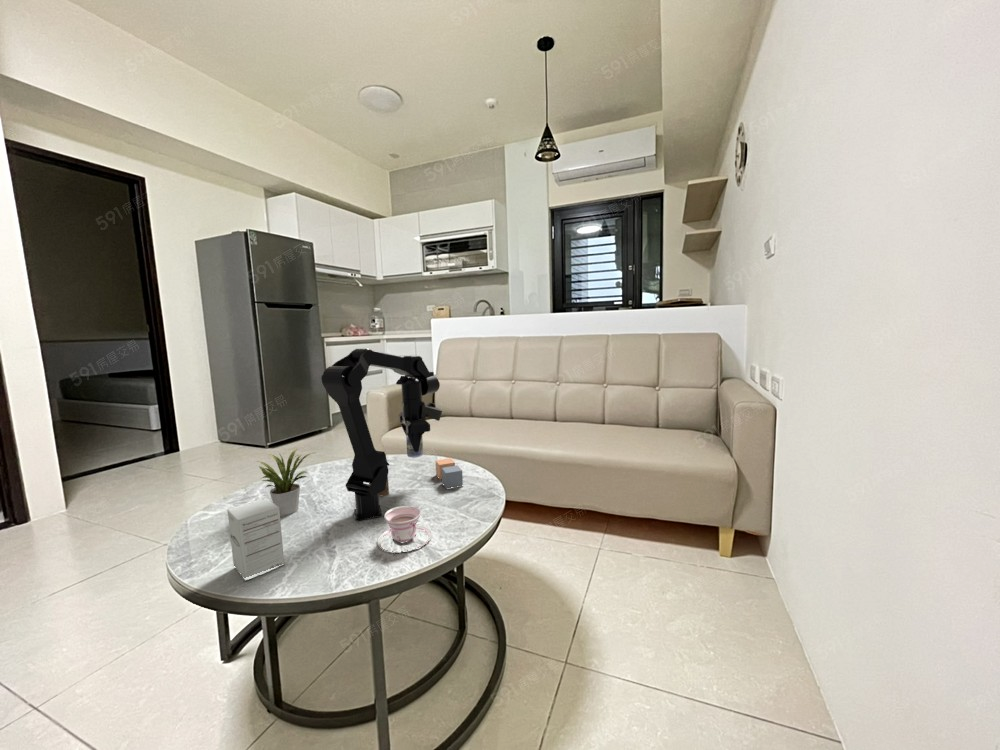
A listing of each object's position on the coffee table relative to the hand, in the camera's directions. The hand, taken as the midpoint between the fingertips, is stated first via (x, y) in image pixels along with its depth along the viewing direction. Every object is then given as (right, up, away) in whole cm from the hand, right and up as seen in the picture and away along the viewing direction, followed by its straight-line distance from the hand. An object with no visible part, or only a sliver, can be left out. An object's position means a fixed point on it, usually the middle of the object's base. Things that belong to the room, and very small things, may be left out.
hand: (414, 449), depth 118 cm
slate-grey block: (+11, -11, +1) cm, 16 cm away
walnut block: (-10, -12, -3) cm, 16 cm away
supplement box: (-23, -17, -38) cm, 48 cm away
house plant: (-30, -14, -12) cm, 36 cm away
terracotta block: (+8, -10, +9) cm, 16 cm away
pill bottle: (0, -2, 0) cm, 2 cm away
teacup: (+4, -15, -29) cm, 33 cm away
